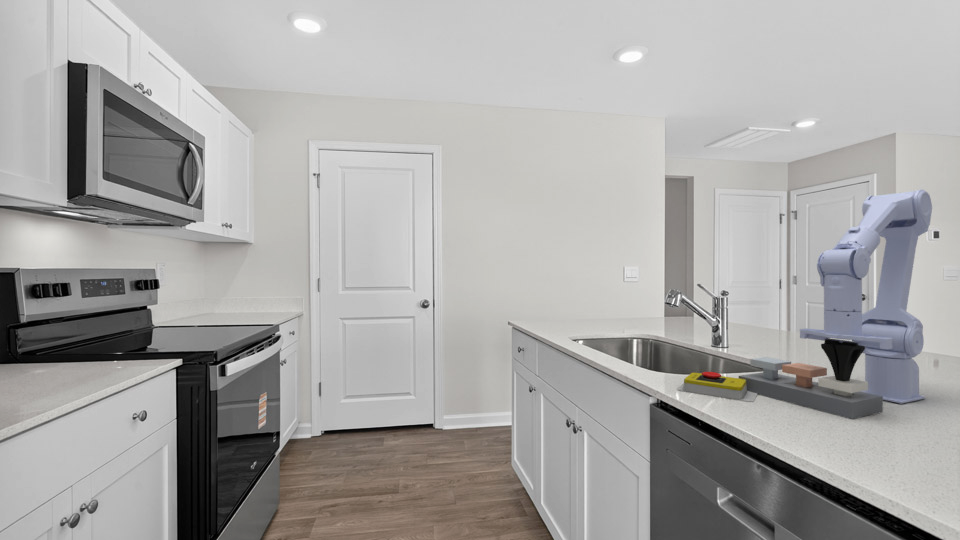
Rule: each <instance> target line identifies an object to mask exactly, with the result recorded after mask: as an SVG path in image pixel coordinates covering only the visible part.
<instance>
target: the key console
mask: <svg viewBox="0 0 960 540" xmlns="http://www.w3.org/2000/svg"><path fill="white" fill-rule="evenodd" d="M738 378H740V379H745V380H746V386H747V391H750V392H754V393H757V394H758V395H759V396H764V397H768V398H771V399H775V400H779V401H783V402H786V403H790V404H792V405H793V404H794V405H797V406H801V407H805V408H809V409H812V410H817V411H820V412H823V413H828V414H831V415H835V416H839V417H842V418H846V419H850V420H854V419H859V418H863V417H866V416H871V415H875V414H881V413H883V411H884V410H883V409H884V405H883V401H884V400H883V396H879V395H874V394H869V393H865V392H854V393H852V396H842V395H838V394H834V389H830V388H826V387H821V386H818V381H813V380H812V387H803V386H798V385H796V376H795V377H794V376H789V375H785V374H780V373H778V379H774V380H772V379H768V378H763V372H756V373H748V374H743V375H738Z"/></svg>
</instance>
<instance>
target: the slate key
mask: <svg viewBox="0 0 960 540" xmlns="http://www.w3.org/2000/svg"><path fill="white" fill-rule="evenodd" d="M786 364H792V361H789V360H784V359H779V358H773V357H769V356H764V357H763V356H762V357H754V358H750V366H751V367H756V368H761V369H762V371H763V378H768V379H772V380H774V379H778V374H779V371H782V365H786Z"/></svg>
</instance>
